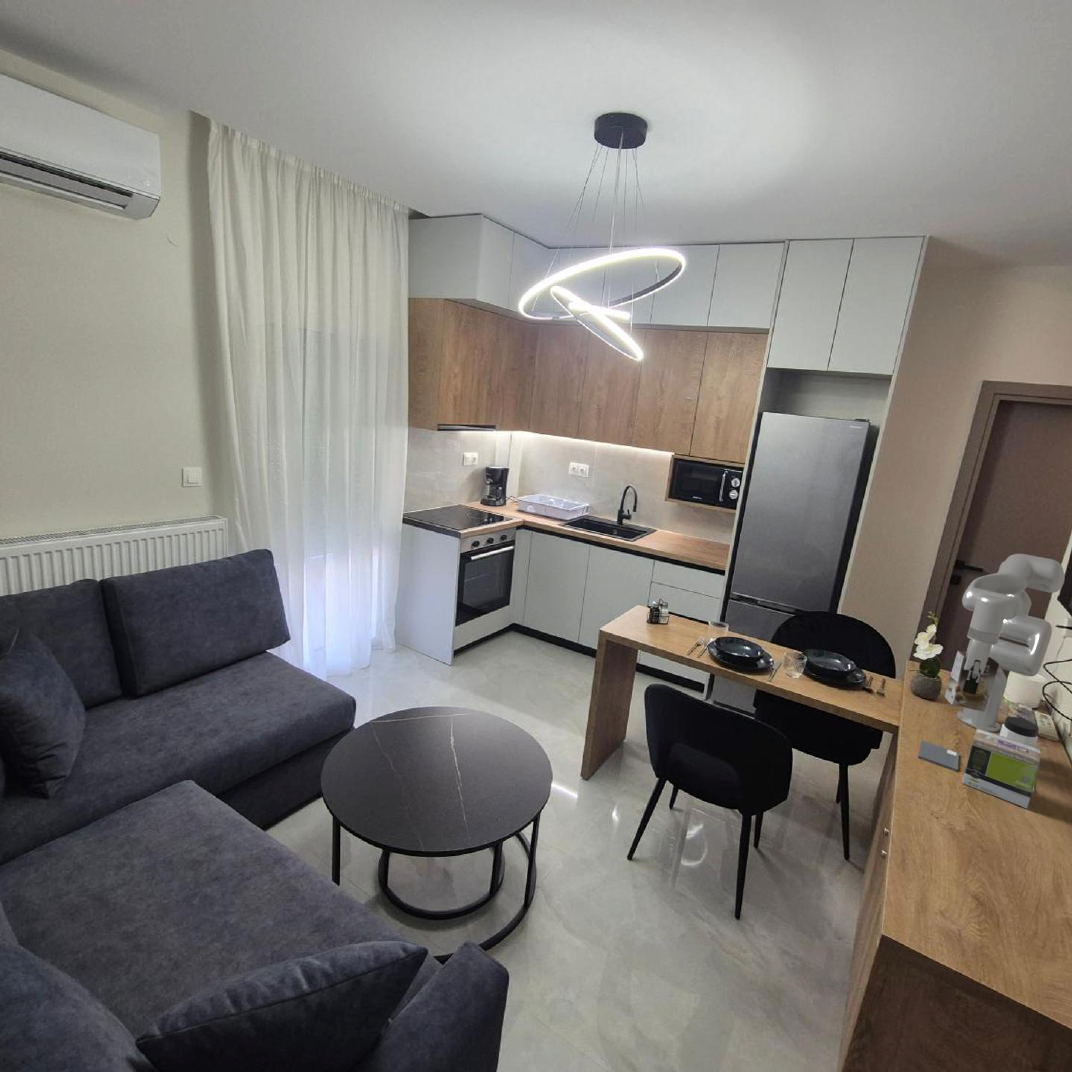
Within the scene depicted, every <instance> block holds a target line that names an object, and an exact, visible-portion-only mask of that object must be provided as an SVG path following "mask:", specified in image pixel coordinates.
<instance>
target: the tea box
mask: <svg viewBox="0 0 1072 1072" xmlns="http://www.w3.org/2000/svg"><path fill="white" fill-rule="evenodd" d="M1041 753H1042V748H1039V747H1036V746H1035V747H1033V746H1030V745H1027V744H1024V743H1021V742H1018V741H1015V740H1012V739H1009V738H1006V737H1003V736H1000V734H997V733H994V732H991V731H985V730H982V729H979V728H975V733H974V735H973V739H972V742H971V746H970V751H969V754H968V758H967V762H966V765H965V768H964V775H963V777H962V784H963V785H967V786H969V787H971V788H974V789H976V790H979V791H981V792H984V793H987V794H989V795H992V796H995V797H997V798H1000V799H1001V800H1004V801H1007V802H1009V803H1012V804H1013V805H1017V806H1019V807H1022V808H1025V809H1028V808H1029V804H1030V803H1031V802H1030V801H1031V798H1032V794H1033V793H1032V791H1033V787H1035V784H1036V780H1037V776H1038V773H1039V769H1040V765H1041Z"/></svg>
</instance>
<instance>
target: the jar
mask: <svg viewBox="0 0 1072 1072" xmlns="http://www.w3.org/2000/svg"><path fill="white" fill-rule="evenodd" d="M1039 729H1040V727H1039V726H1038V725H1037V724H1035V723H1034V722H1031V721H1029V720H1027V719H1024V718H1021V717H1017V716H1007V717H1006V718H1005V721H1004V723H1002V725H1001V728H1000V730H999V735H1000V736H1003V737H1006V738H1009V739H1012V740H1015V741H1018V742H1021V743H1024V744H1027V745H1030V746H1033V747H1036V746H1037V744H1038V743H1037V742H1038V739H1039V736H1038V732H1039Z"/></svg>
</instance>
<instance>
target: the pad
mask: <svg viewBox="0 0 1072 1072" xmlns="http://www.w3.org/2000/svg"><path fill="white" fill-rule="evenodd" d="M918 752H919V753H918V756H917V757H918V759H920V760H923V761H924V762H925V761H926V762H928V763H931V764H935V765H937V766H939V767H942V768H945V769H948V770H950V771H954V772H959V771H958V770H959V755H960V754H959V752H956V751H955V750H954V751H953V750H952V749H948V748H945V747H943V746H939V745H936V744H933V743H931V742H928V741H925V740H921V741H920V747H919V751H918Z"/></svg>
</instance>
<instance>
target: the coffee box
mask: <svg viewBox="0 0 1072 1072" xmlns="http://www.w3.org/2000/svg"><path fill="white" fill-rule="evenodd" d="M966 652H967V651H962V650H957V652H956V655H955V658H954V663H953V666H952V669H951V673H950V676H949V681H948V684H947V687H946V691H945V694H944V698H945V699H946V701H948V703H950V705H952V706H956V707H960V708H961V707H962V708H963V709H964V708H969V709H973V710H978V711H982V712H985V710H986V706H987V703H988V700H989V696H990V693H991V690H992V686H993V683H994V680H995V676H996V673H997V670H998V666H999V664H998V663H997V662H996V661H995V660H994V659H992V658H991V657H988V661H987V664H986V667H985V670H984V672H983V674H981V673H980V674H981V675H980V676H979V681H978V682H979V684H978V687H977V691H976V694H975V695H973V694H970V693H966V692H963V687H964V684H965V680H966V679H967V676H968V672H969V670H966V671H965V670H964V666H965V663H966V660H967V656H966ZM974 663H975V662H974ZM973 668H974V665H973V666H972V667H971V670H972V671H973ZM979 669H980V668H979ZM978 672H979V671H978ZM971 674H972V673H971ZM971 674H970V675H971Z"/></svg>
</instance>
